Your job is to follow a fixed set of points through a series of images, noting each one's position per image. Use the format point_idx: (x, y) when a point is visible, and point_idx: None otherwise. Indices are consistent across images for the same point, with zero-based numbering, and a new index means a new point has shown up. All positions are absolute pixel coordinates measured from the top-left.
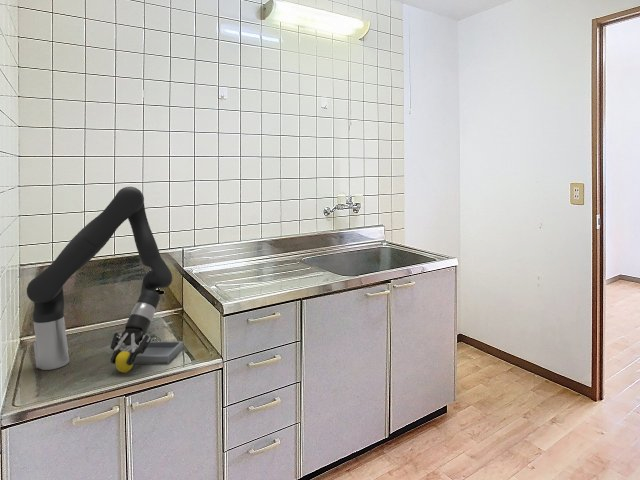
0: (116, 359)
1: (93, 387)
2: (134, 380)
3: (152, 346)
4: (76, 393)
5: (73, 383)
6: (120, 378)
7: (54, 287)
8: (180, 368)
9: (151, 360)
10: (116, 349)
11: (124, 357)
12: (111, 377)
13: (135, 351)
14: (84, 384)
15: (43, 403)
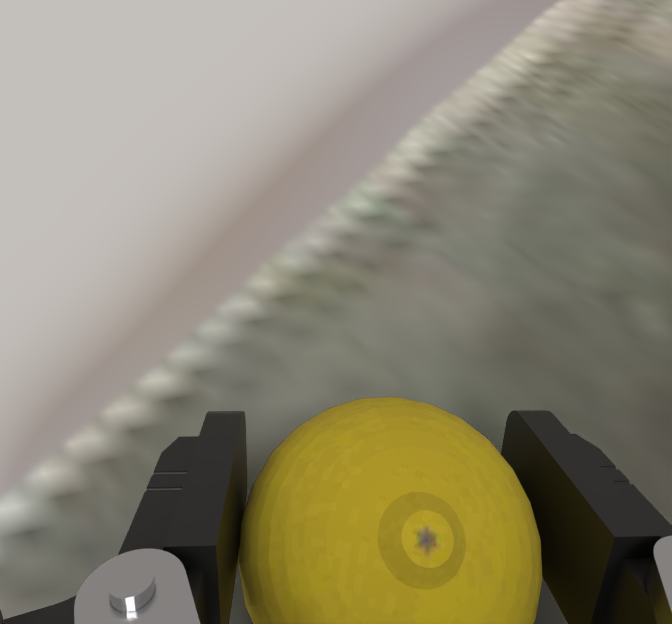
0: (454, 415)
1: (434, 218)
2: (130, 400)
3: None
4: (479, 132)
5: (665, 245)
6: (320, 410)
7: None
8: None
9: None
10: (670, 564)
11: (309, 441)
12: None
13: (85, 613)
14: (558, 247)
15: (561, 24)
